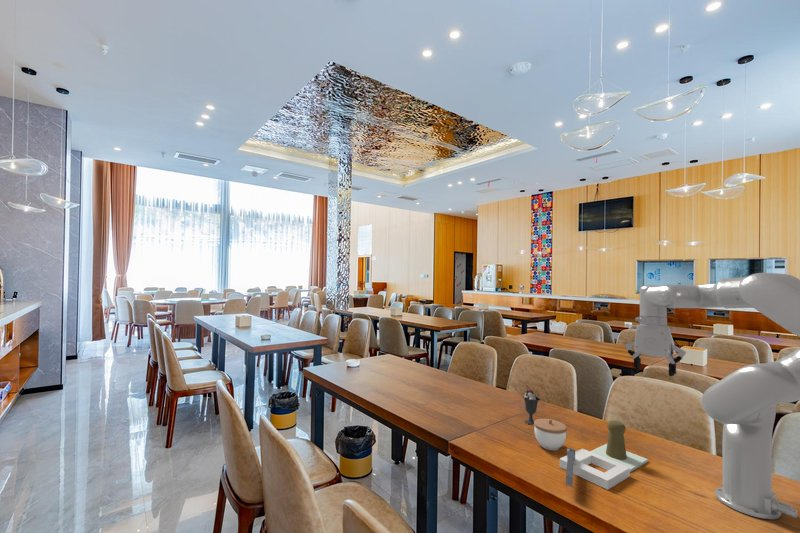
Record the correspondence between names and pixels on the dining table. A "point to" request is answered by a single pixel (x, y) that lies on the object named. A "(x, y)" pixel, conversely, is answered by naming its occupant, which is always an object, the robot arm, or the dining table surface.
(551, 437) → the lidded jar
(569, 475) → the retention bar
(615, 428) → the olive tapered cylinder
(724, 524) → the dining table surface
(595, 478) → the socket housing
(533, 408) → the sundae
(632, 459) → the sage mat
